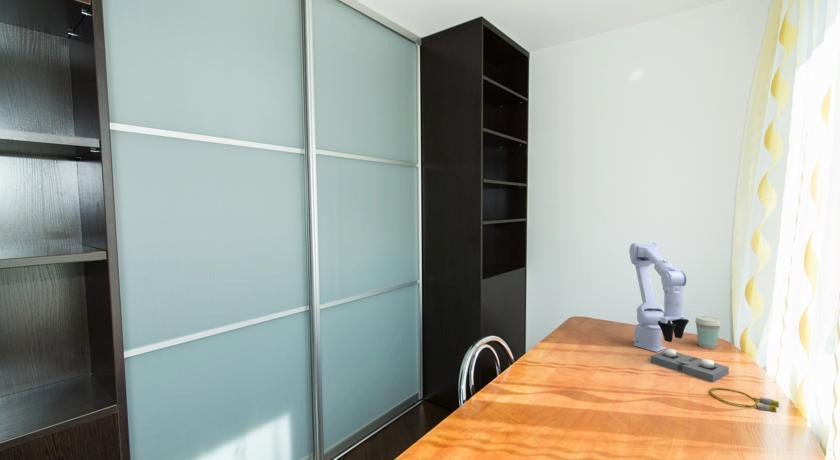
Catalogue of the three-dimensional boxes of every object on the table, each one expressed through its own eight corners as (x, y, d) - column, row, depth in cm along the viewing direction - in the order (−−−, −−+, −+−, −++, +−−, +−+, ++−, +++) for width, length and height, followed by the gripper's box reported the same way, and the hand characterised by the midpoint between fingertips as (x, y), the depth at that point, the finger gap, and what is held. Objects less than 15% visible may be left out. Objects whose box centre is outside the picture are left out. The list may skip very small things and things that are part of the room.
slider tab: (678, 361, 138) (678, 354, 138) (681, 360, 139) (681, 352, 139) (686, 364, 136) (687, 356, 136) (690, 363, 137) (690, 355, 137)
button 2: (699, 365, 135) (699, 359, 135) (704, 363, 137) (704, 357, 137) (711, 368, 132) (711, 363, 132) (715, 366, 134) (716, 360, 133)
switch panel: (650, 362, 145) (650, 355, 145) (667, 355, 151) (667, 349, 151) (712, 382, 128) (713, 375, 128) (728, 373, 134) (728, 366, 134)
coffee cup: (711, 343, 164) (712, 315, 163) (725, 350, 156) (725, 321, 155) (690, 343, 165) (690, 315, 164) (702, 350, 156) (703, 321, 156)
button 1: (662, 354, 145) (662, 349, 145) (667, 352, 147) (667, 347, 147) (673, 357, 142) (673, 352, 142) (678, 355, 144) (678, 350, 144)
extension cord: (763, 419, 106) (763, 412, 106) (701, 395, 120) (701, 388, 120) (785, 409, 111) (785, 402, 111) (723, 387, 125) (723, 381, 125)
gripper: (675, 307, 136) (675, 345, 136) (694, 302, 143) (694, 339, 144) (654, 304, 142) (654, 340, 142) (674, 299, 149) (674, 334, 150)
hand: (673, 339), depth 143 cm, fingers open, 7 cm apart
